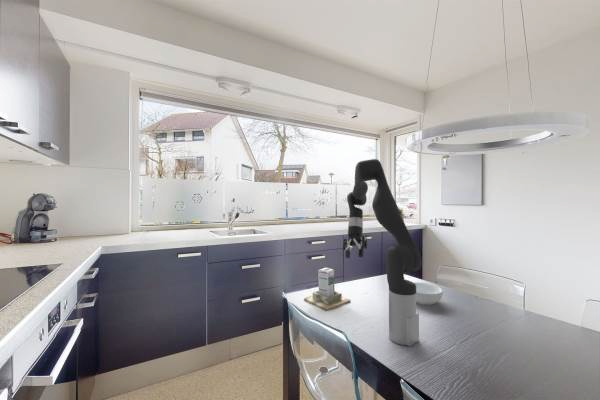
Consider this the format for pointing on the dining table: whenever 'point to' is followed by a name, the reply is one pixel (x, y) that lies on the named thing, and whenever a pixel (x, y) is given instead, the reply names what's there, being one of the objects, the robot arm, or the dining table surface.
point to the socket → (327, 300)
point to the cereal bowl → (427, 294)
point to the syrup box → (326, 282)
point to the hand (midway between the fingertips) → (354, 257)
